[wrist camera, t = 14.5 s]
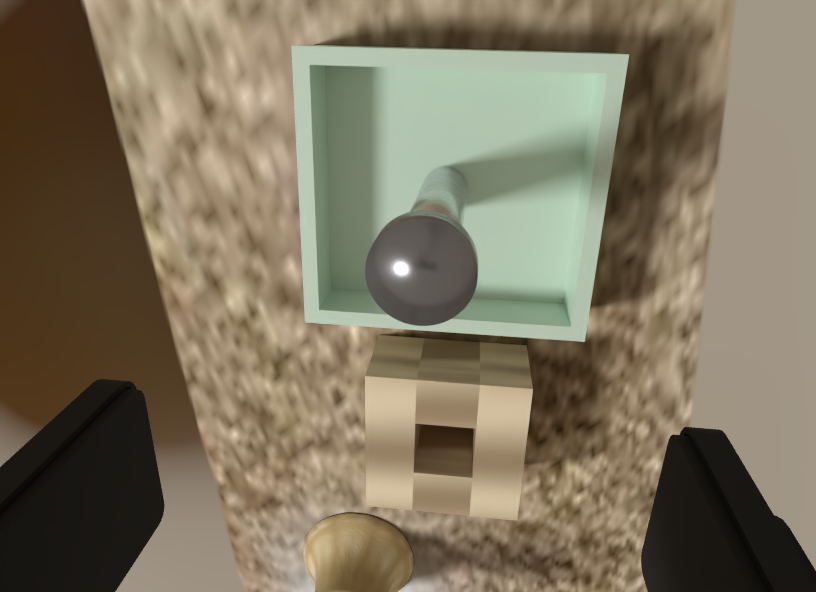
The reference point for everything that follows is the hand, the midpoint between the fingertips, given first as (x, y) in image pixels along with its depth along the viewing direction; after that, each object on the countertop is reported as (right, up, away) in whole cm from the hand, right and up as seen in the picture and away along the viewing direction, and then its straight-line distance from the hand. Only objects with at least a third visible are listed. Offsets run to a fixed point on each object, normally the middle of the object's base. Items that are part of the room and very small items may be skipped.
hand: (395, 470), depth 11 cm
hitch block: (+3, -4, +28) cm, 28 cm away
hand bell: (-3, -16, +34) cm, 38 cm away
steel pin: (+2, +9, +22) cm, 23 cm away
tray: (+3, +9, +23) cm, 25 cm away
